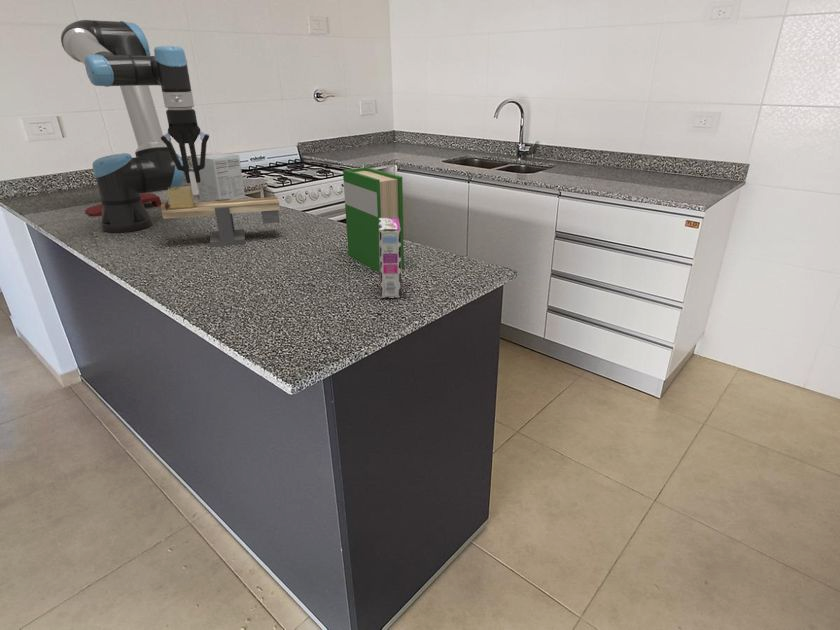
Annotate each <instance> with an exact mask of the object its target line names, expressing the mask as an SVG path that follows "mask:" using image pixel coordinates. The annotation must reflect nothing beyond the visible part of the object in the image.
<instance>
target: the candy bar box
mask: <svg viewBox="0 0 840 630" xmlns="http://www.w3.org/2000/svg"><path fill="white" fill-rule="evenodd" d="M379 257H380V274H379V281H380V282H379V285H380V298H381V299H382V298H389V297H401V298H402V269H401V229H400V224H399V218H379Z"/></svg>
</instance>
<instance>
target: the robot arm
mask: <svg viewBox="0 0 840 630" xmlns="http://www.w3.org/2000/svg"><path fill="white" fill-rule="evenodd" d="M60 43H61V46H62V48H63V50H64V52H65V53H66V54H67V55H68V56H69V57H70V58H72V59H73V60H75V61H76V62H78V63H82V64H83V65H84V66H85V70H86V75H87V78H88V79H89V81H90V83H91V84H92V85H93V86H96V87H106V88H107V87H120V91H121V94H122V97H123V100H124V103H125V107H126V111H127V114H128V117H129V120H130V124H131V128H132V131H133V134H134V138H135V141H136V144H137V146H138V147H137V149H136V150H135V151H134V154H135V157H133V156H132V155H131V154H130V153H126V152H124V153H117V154H116V153H115V154H109V155H106V156H102V157H100V158H97V159H95V160H94V161H93V163H92V171H93V177H94V179H95V181H96V186H97V190H98V194H99V197H100V203H101V204H102V206H103V208H102V216H101V221H100V224H101V229H102V231H103V232H107V233H130V232H135V231H141V230H144V229H148V228H150V227H151V226H152V225H153V221H152V217H151V215H150V213H149V212H148V210H147V209H146V207H145V205H144V204H142V202H141V197H140V194H145V193H153V192H161V191H167V190H168V188H169V187H182V185H183V183H184V179H185V181H186V184H190V186H191V189H192V195H193V196H199V190H198V184H197V183H200V181H201V179H200V173H199V171H200V170H202V169H204V167H205V158H206V154H207V142H208V140H209V138H210V134H208V133H205V132H203V131H202V130H201V128H200V127H199V124H198V121H197V119H198V118H197V115H196V113H197V112H196V110H195V109H194V107H195V104H194V96H193V91H192V86H191V80H190V73H189V67H188V60H187V57H186V53H185V50H184V48H183V47H181V46H167V45H166V46H165V45H164V46H163V45H160V46H155V47H154V50H153V52H154V54H153V55H151V51H150V45H149V41H148V39H147V37H146V34H145V33H144V31H143V30H142V28H141V27H140V26H139V25H137V24H136V23H135V22H128V21H123V20H121V21H113V20H111V21H109V20H92V19H82V20H81V19H80V20H76V21H74V22H72V23H69V24H68V25H67V26H65V27H64V29H63V30H62V32H61V36H60ZM150 86H160V88H161V93H162V99H163V104H164V107H165V109H166V108H167V110H166V111H165V113H166V119H167V124H168V129H167V133H165V134H164V133H163V129H162V126H161V123H160V120H159V117H158V112H157V110H156V106H155V104H154V100H153V96H152V92H151V90H150V89H151V88H150ZM199 136H200V137H199ZM198 137H199V139H200V140H201V147H200V155H201V157H200V165H198V161H197V156H198V155H197V152H196V146H195V142H196V141H197V140H198ZM172 139H173V140H175V142H176V143H177V144H178V147H179V150H180V151H179V152H180V154H179V153H177V152H176V150H175V147H174V145H173V143H172ZM186 144H188V148H189V152H190V157H191V163H192V168H193V170H190V169H191V168H190V164H189V159H188V155H187V150H186ZM184 176H185V178H184Z"/></svg>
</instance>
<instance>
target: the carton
mask: <svg viewBox="0 0 840 630" xmlns="http://www.w3.org/2000/svg"><path fill="white" fill-rule="evenodd" d="M140 197H141V202H142V204H143V205H144V204H147V203H151V204H153V205H154V206H155V207H157V208H159V207H161V205H162V203H163V202H162V201H161V198H160V196H159V195H156V194H155V193H152V192H147V193H140ZM158 206H159V207H158ZM102 208H103V206H102V203H101V204H97V205H94V206H90V207H87V208H86V209H85V210H84V211H85V213H86V214H87V215H88V216H89V217H93V218H95V217H102Z"/></svg>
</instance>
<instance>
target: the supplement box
mask: <svg viewBox="0 0 840 630" xmlns="http://www.w3.org/2000/svg"><path fill="white" fill-rule="evenodd" d="M196 156H197V161H198V165H200V157H201V154H200V155H196ZM199 173H200V179H201V181H200V183H197V184H198V190H199V195H198V196H199V200H201V201H204V200H205V201H204V202H212V201H216V200H218V199H230V200H240V199H246V195H245V194H246V193H245V188H244V180H243V174H242V173H243V172H242V166H241V159H240V154H233V153H232V154H231V153H222V152H214V153H208V154H207V153H206V158H205V167H204V169H202V170H200V171H199Z"/></svg>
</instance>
